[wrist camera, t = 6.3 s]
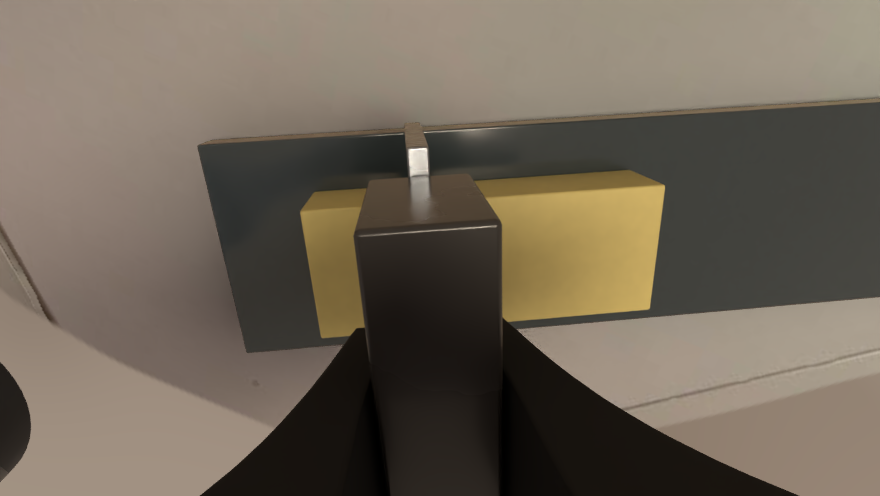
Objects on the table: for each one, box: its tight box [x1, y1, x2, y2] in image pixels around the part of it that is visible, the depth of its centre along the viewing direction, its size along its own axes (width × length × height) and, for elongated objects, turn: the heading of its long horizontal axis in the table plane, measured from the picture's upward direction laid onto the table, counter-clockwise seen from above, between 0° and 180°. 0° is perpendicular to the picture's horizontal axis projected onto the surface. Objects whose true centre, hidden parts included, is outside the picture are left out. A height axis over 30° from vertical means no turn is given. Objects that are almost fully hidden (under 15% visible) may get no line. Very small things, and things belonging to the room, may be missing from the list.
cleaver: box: [353, 122, 503, 496], centre depth 10 cm, size 2×9×7 cm, turn 3°
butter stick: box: [474, 170, 665, 322], centre depth 16 cm, size 7×4×2 cm, turn 93°
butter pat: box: [300, 188, 367, 338], centre depth 16 cm, size 3×4×2 cm
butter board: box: [198, 98, 880, 353], centre depth 18 cm, size 46×8×1 cm, turn 93°
